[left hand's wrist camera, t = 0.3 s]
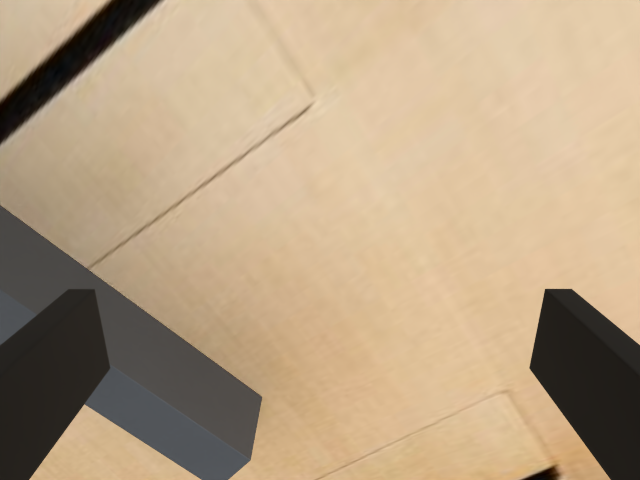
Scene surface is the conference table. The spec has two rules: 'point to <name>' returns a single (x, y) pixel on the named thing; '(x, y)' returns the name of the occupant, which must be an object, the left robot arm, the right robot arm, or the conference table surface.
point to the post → (136, 362)
